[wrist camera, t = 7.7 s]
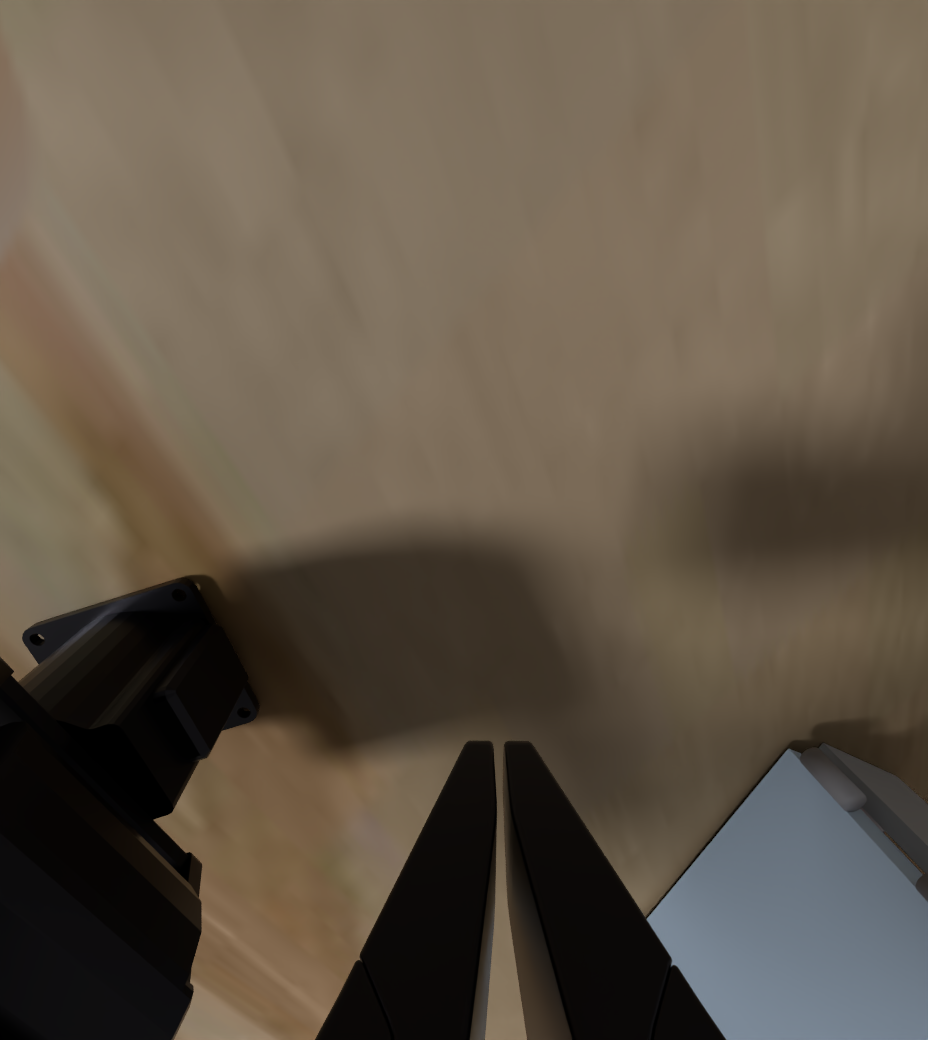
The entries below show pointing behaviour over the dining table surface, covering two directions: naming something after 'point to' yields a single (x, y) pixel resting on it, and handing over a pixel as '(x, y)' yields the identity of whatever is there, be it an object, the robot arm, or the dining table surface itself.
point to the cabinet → (888, 804)
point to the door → (803, 916)
